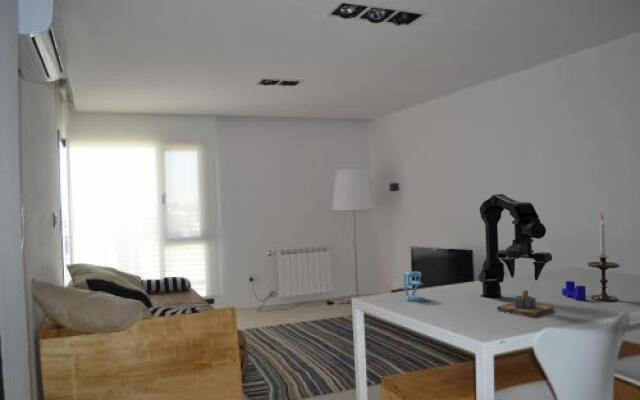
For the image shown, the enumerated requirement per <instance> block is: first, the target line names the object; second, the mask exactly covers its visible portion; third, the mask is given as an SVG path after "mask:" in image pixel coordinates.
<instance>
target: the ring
mask: <svg viewBox="0 0 640 400" xmlns="http://www.w3.org/2000/svg"><path fill="white" fill-rule="evenodd" d="M513 302H514V306H515V307H516V308H520V309H534V308H536V305H535V304H536V298H535V297H534V296H532V295H528V299H523V298H522V295H515V296H514V297H513Z"/></svg>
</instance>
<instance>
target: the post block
mask: <svg viewBox="0 0 640 400" xmlns="http://www.w3.org/2000/svg"><path fill="white" fill-rule="evenodd" d="M521 296H522V298H523V299H528V296H529V291H528V290H526V289H522V290H521ZM535 305H536V308H534V309H520V308H516V307H515V306H514V301H513V302H510V303H506V304H503V305H499V306H497V307H496V308H497V310H499V311H498V312H501V311H503V312H502V313H506V312H509V313H508V314H511V313H515V314H514V315H517V314H521V315H520V316H522V315H525V316H524V317H527V316H529V317H528V318H537V317H540V316H543V315H545V314H549V313H553V312H554V306H549V305H543V304H538V303H535Z"/></svg>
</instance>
